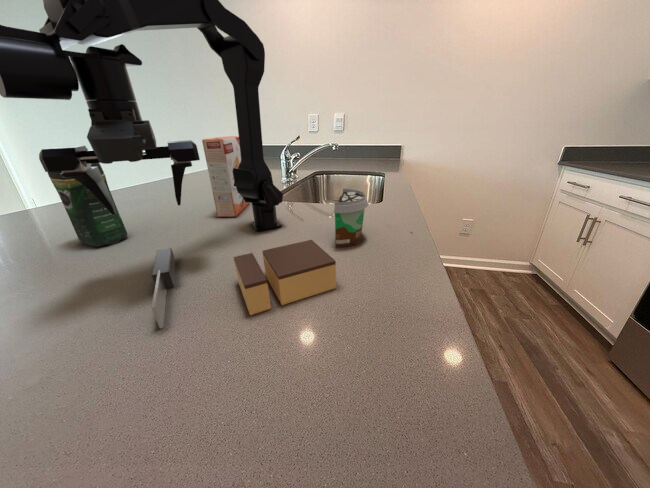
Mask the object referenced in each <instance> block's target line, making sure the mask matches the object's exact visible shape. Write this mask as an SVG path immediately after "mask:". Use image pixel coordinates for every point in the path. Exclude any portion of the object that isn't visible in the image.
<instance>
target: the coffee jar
mask: <svg viewBox="0 0 650 488" xmlns="http://www.w3.org/2000/svg"><path fill="white" fill-rule="evenodd" d="M91 167H98V169H99V171H100V173H101V175H102V177H103V180H104V182H105V184H106V186H107V189H108V191H109V193H110V195H111V198H112V200H113V202H114V205H115V209H116V214H114V215H113V214H111V213H110V212H109V210H108V209H107V208H106V207H105V206H104V205H103V204H102V203H101V202H100V201H99V200H98V199H97V197H96V196H95V195H94V194H93V193H92V192H91V191H90V190H89V189H87V188H86V187H85V186H84V185H83V184H81V183H80V182H78V181H76V180H75V179H73V178H71V177H62V176H61V175H60V174H61V173H62V171H57V172H47V175H48V178H49V179H50V182H51V183H52V185H53V187H54V188H55V190H56V192H57V194H58V197H59V199H60V200H61V203H62V205H63V208H64V210H65V212H66V214H67V216H68V219H69V220H70V223H71V226H72V227H73V230H74V232H75V234H76V236H77V239H78V241H79V242H80V243H81V244H82V245H85V246H88V247H95V248H96V247H97V248H98V247H101V246H106V245H112V244H116V243H118V242H120V241H121V240H123V239H125V238H127V237H128V232H127V229H126V226H125V224H124V221H123V219H122V216H121V214H120V212H119V210H118V207H117V204H116V202H115V200H114V198H113V195H112V193H111V189H110V187H109V184H108V181H107V177H106V173H105V172H104V170H103V168H102V165H101V163H91Z"/></svg>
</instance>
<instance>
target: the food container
mask: <svg viewBox="0 0 650 488" xmlns="http://www.w3.org/2000/svg"><path fill="white" fill-rule="evenodd" d="M368 206H369V201H368V197H367V196H366V193H365V192H364V191H362V190H358V189H353V188H342V193H341V195H340V196H339V198H338V201H335V202H334V208H333V209H334V211H333V214H334V228H335V229H334V230H335V247H336V248H344V247H345V248H346V247H351V246H355V245H357V244H358V243H360V242H361V240H362V233H363V227H364V226H363V225H364V218H365V217H364V216H365V209H366V208H368Z"/></svg>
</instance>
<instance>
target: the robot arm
mask: <svg viewBox="0 0 650 488" xmlns="http://www.w3.org/2000/svg"><path fill="white" fill-rule="evenodd" d="M42 2H43V9H44V11H45V13H46V15H47V18H46V20H45V22H44V24H43V26H42V27H40V28H39V31H35V30H29V29H25V28H18V27H11V26H6V25H2V24H0V96H1V97H2V98H4V99H27V100H28V99H29V100H31V99H32V100H54V101H55V100H56V101H57V100H59V101H71V100H72V97H73V92H79V89H80V90H81V92H82V95H83V98H84V100H85V101H86V102H85V103H86V106H87V107H88V108H87V111H88V115H89V118H90V122H91V123H90V125H91V126H90V127H89V128H88V132H87V135H86V139H87V141H88V143H89V145H90V146H91V149H88V148H87V146H86V145H72V146H71V145H69V146H68V145H67V146H54V147H53V146H52V147H48V148H42V149H41V150H40V151H39V153H38V159H39V161H40V163H41V166H42V169H43V170H44V172H45V173H48V172H57V171H62V173H61V174H60V175H61V176H62V177H71V178H73V179H75V180H76V181H78V182H80V183H81V184H83V185H84V186H85V187H86V188H87V189H89V190H90V191H91V192H92V193H93V194H94V195H95V196H96V197H97V199H98V200H99V201H100V202H101V203H102V204H103V205H104V206H105V207H106V208H107V209H108V210H109V212H110V213H111V214H113V215H114V214H116V209H115V205H116V204H115V205H114V202H115V201H114V202H113V200H114V199H113V200H112V198H111V195H112V194H111V195H110V193H109V191H108V189H107V186H106V184H105V182H104V180H103V177H102V175H101V173H100V171H99V169H98V167H91V163H100V164H104V165H105V164H107V165H109V164H112V163H115V162H117V163H118V162H130V163H136V162H140V161H143V160H158V159H159V160H160V159H170V161H171V164H170V168H171V175H172V181H173V188H174V194H175V195H174V196H175V201H176V203H177V206H181V203H182V189H183V188H182V187H183V180H184V177H185V176H184V175H185V171H186V169H187V168H191V167H193V164H192V162H194V161H195V162H196V161H197V162H198V161H200V154H199V151H198V146H197V144H196V143H195V142H194V141H193V140H170V141H169V140H168V141H167V145H162V146H161V145H160V146H157V139H156V136H155V133H154V130H153V128H152V127H153V126H152V124H151V122H150V120H149V119H148V120H143V118H142V115H141V111H140V107H139V105H138V102H137V98H136V95H135V92H134V88H133V84H132V81H131V78H130V75H129V72H128V69H133V68H136V67H137V68H138V67H141V66H142V65H143V61H142V60H141V59H140V58H139V57H137V56H136V55H135V54H134V53H132V52H131V51H130V50H129V49H128V48H127V47H126V46H125V44H123V43H121V44H118V45H116V46H114V48H113V49H111V48H104V47H99V46H94V45H97V44H101V43H104V42H106V41H109V40H110V41H111V40H112V39H116V38H120V37H121V36H125V35H127V34H130V33H133V32H140V31H157V30H159V31H161V30H176V29H194V28H196V29H197V30H198V31H200V33H201V34H202V35H203V37H204V39H205V41H206V42H207V44H208V46H209V48H210V49H211V51H213V52H215V54H216V55H217V56H218V57H219V58H220V60H221V62H222V67H223V71H224V73H225V75H226V76H227V78H228V80H229V82H230V84H231V85H232V88H233V96H234V97H233V98H234V106H235V114H236V115H235V116H236V123H237V133H238V137H239V143H240V153H241V162H240V164H239V167H238V168H233V176H234V186H235V187H236V188H237V191H238V193H239V194H240V195H241V196H242V197H243V199H244V201H245V202H248V203H249V204H251V206H252V207H251V208H252V214H253V215H252V216H253V221H251V225H252V227H253V229H254V230H255V231H256V232H262V231H266V230H272V229H277V228H281V227H282V225H283V224H281V222H280V221H279V220H278V216H277V207H276V206H279V205H280V204H281V203H283V200H284V199H283V198H284V193H283V192H282V191H281V190H280V189H279V188H278V187H277V186H276V185H274V181H273V176H272V171H271V170H270V168H269V166H268V165H267V163H266V161H265V158H264V146H263V134H262V133H263V132H262V119H261V109H260V108H261V107H260V95H259V93H260V92H259V87H260V84H261V81H262V80H263V77H264V74H265V67H266V65H265V63H266V51H265V46H264V43H263V42H262V40H261V39H260V37H259V36H258V35H257V34H256V32H254V31H253V29H252V28H251V27H250V26H249V25H248V23H247V22H246V21H245V20H244V19H242V18H241V17H239V16H237V15H236V14H235V13H233V12H232V11H230V10H229V9H227V8H226V7H225V6H224V5H223V3H222V2H221V1H220V0H42ZM219 30H220V31H221V32H222V33H224V34H226V35H227V36H223V34H221V33H220V31H219ZM76 44H78V45H81V46H88V47H87V48H86V50H85V52H79V51H72V50H65V49H68V48H70V47H72V46H74V45H76ZM79 87H80V88H79Z"/></svg>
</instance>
